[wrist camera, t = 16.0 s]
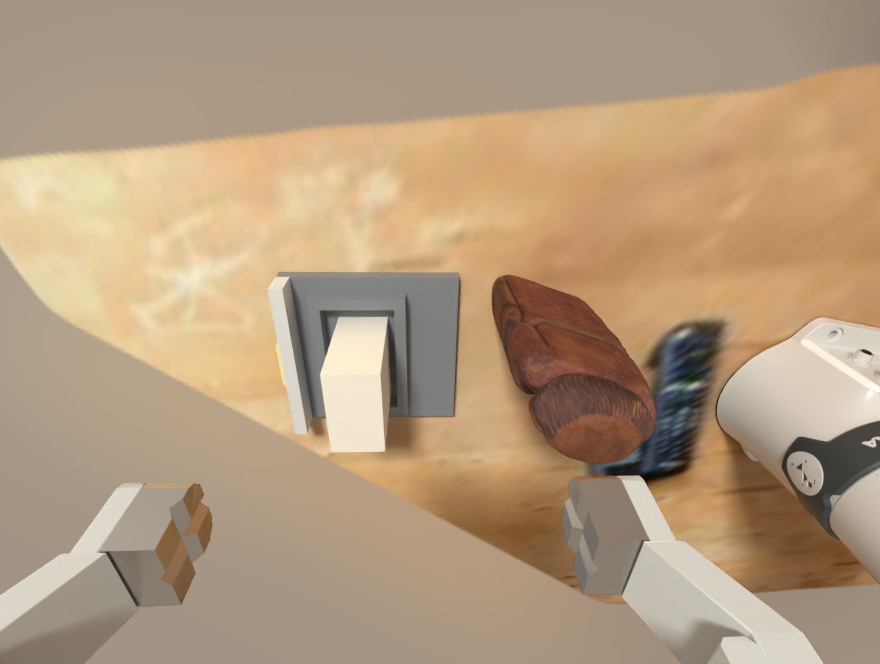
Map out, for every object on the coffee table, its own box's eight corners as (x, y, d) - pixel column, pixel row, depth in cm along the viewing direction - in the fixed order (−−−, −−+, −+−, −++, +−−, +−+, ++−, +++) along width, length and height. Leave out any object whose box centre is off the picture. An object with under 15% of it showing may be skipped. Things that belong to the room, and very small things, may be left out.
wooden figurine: (470, 319, 44) (496, 461, 28) (499, 261, 41) (546, 384, 25) (576, 355, 46) (653, 504, 31) (610, 303, 43) (715, 438, 28)
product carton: (387, 316, 42) (380, 374, 34) (391, 386, 46) (385, 451, 38) (336, 316, 42) (317, 374, 34) (344, 386, 46) (328, 452, 38)
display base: (458, 272, 41) (461, 289, 38) (452, 409, 49) (454, 432, 46) (274, 272, 41) (262, 289, 38) (299, 411, 49) (291, 434, 46)
